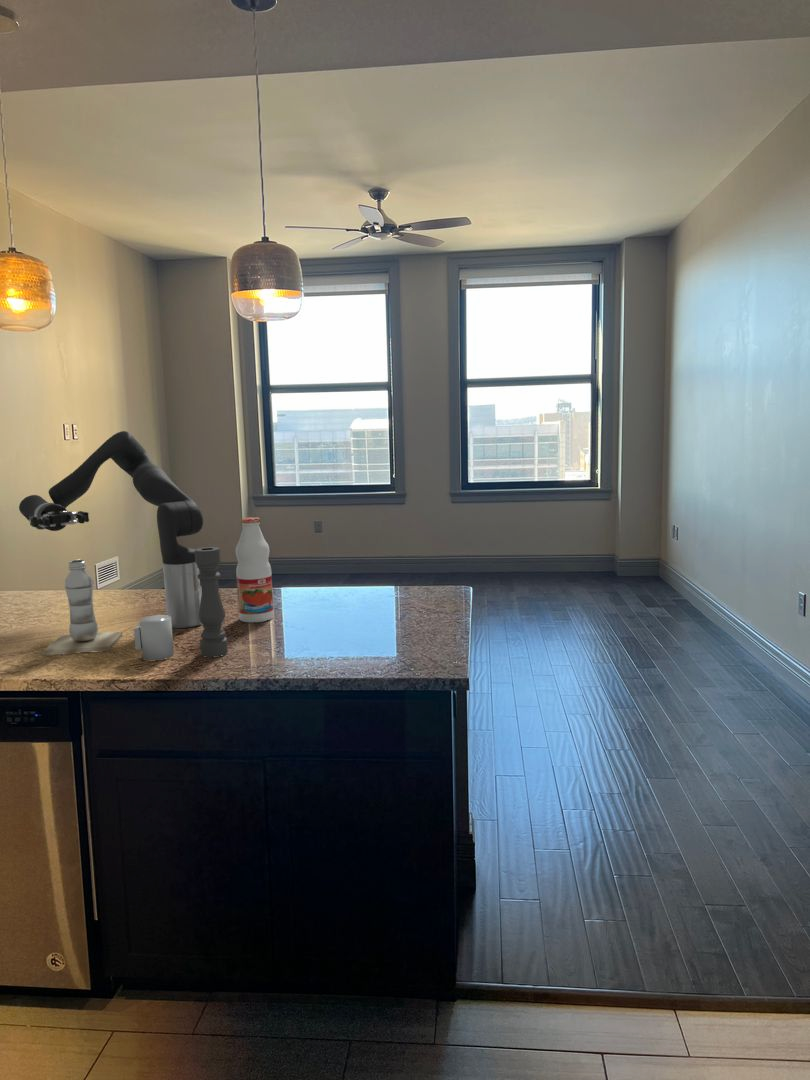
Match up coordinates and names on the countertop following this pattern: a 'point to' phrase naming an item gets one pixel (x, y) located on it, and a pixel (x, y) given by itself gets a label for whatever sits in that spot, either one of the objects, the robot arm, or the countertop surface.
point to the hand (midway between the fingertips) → (66, 521)
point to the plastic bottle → (80, 602)
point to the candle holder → (210, 603)
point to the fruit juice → (253, 574)
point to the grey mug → (154, 637)
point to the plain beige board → (83, 644)
